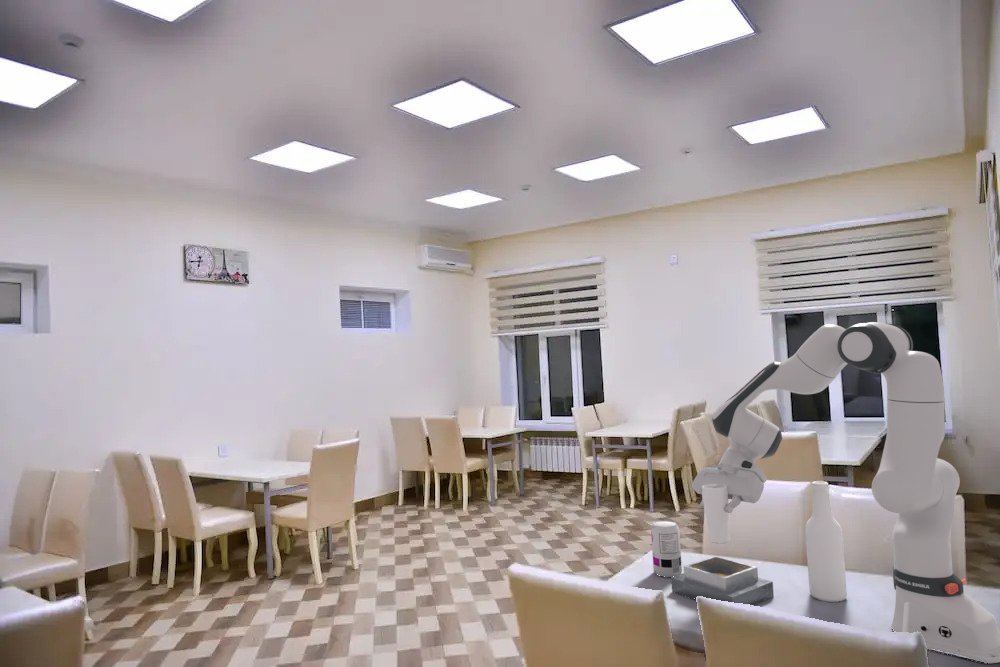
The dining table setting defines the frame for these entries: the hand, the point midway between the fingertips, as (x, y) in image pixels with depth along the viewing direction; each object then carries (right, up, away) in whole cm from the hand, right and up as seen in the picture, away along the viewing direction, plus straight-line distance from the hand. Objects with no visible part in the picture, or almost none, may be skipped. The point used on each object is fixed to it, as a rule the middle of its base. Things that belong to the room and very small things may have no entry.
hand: (715, 509), depth 176 cm
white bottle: (+28, -22, -6) cm, 36 cm away
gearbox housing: (+2, -23, -1) cm, 23 cm away
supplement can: (-8, -25, +18) cm, 32 cm away
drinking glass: (+1, -9, 0) cm, 9 cm away
